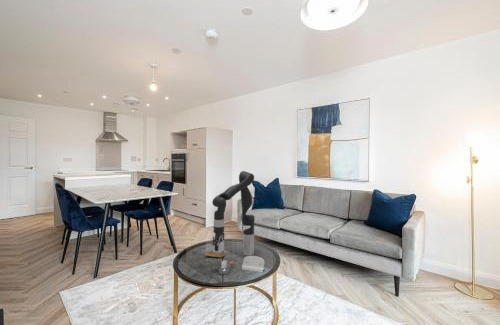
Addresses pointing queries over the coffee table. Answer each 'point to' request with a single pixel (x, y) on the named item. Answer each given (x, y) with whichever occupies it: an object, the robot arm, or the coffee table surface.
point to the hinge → (253, 263)
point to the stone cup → (214, 253)
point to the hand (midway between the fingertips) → (218, 249)
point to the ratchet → (226, 267)
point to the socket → (219, 246)
